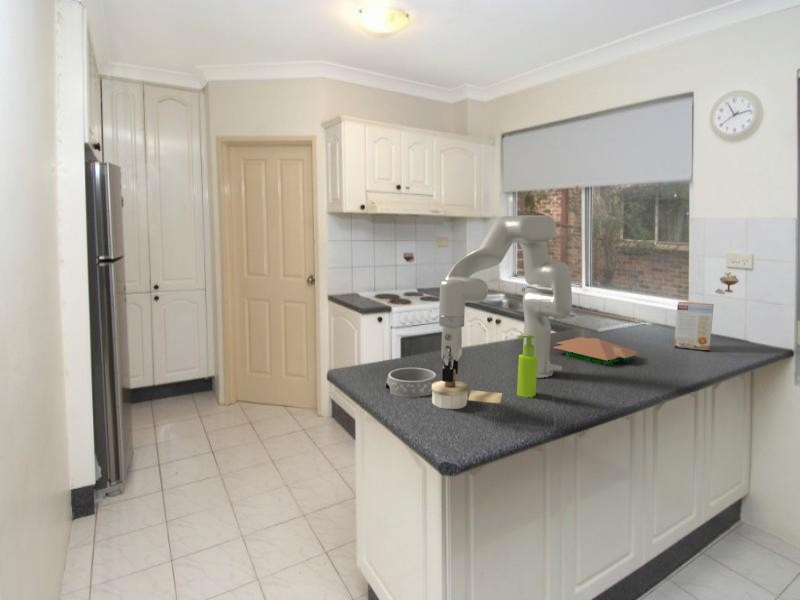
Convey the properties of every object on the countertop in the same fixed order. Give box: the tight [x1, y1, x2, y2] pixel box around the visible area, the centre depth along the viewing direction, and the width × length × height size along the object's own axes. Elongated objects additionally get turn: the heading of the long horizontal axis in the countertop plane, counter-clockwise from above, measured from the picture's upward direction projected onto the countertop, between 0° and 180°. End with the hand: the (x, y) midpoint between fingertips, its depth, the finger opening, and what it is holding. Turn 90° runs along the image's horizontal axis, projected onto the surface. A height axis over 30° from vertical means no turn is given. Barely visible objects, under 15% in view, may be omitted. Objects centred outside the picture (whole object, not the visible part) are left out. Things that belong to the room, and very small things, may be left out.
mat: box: [467, 389, 503, 405], centre depth 164 cm, size 10×10×1 cm
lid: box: [432, 369, 470, 396], centre depth 156 cm, size 11×11×6 cm
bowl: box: [431, 391, 468, 410], centre depth 157 cm, size 10×10×4 cm
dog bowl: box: [385, 367, 438, 399], centre depth 172 cm, size 17×18×5 cm
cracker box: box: [673, 301, 715, 349], centre depth 231 cm, size 14×6×21 cm, turn 58°
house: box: [552, 336, 640, 365], centre depth 218 cm, size 23×33×8 cm
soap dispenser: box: [516, 333, 538, 398], centre depth 165 cm, size 6×7×20 cm
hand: (450, 377), depth 156 cm, fingers open, 8 cm apart
